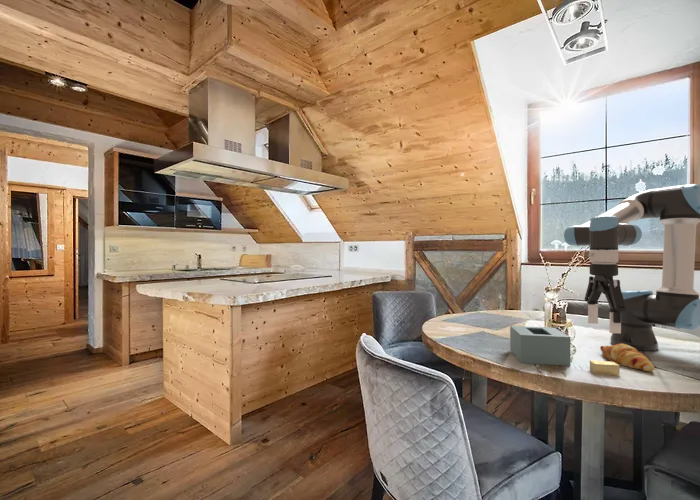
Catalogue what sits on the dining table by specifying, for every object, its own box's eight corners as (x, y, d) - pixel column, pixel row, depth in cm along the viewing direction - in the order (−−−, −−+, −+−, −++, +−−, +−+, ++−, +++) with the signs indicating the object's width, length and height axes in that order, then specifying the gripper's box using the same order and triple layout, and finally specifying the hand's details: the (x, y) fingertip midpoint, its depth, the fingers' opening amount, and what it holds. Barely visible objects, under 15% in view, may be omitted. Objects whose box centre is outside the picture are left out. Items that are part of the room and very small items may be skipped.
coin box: (554, 353, 130) (554, 327, 130) (570, 365, 117) (570, 337, 116) (510, 350, 133) (510, 325, 133) (520, 362, 120) (520, 334, 120)
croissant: (661, 384, 109) (672, 362, 109) (635, 371, 108) (647, 349, 108) (607, 361, 130) (617, 342, 130) (585, 349, 129) (595, 331, 130)
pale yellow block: (613, 372, 111) (613, 361, 111) (619, 376, 108) (619, 365, 108) (589, 370, 112) (589, 360, 112) (594, 374, 109) (594, 363, 109)
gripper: (573, 261, 123) (573, 319, 123) (611, 265, 98) (611, 337, 99) (596, 261, 121) (596, 320, 121) (641, 265, 97) (641, 338, 97)
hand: (603, 328), depth 110 cm, fingers open, 13 cm apart
